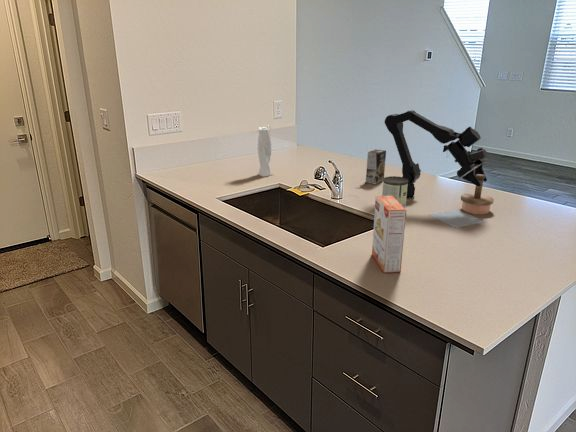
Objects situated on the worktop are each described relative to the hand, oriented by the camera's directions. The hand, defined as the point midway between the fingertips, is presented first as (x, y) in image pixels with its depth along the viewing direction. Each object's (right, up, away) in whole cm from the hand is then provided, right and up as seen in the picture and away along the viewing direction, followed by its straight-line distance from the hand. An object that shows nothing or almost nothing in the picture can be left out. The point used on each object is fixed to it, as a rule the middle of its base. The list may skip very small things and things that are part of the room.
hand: (483, 183), depth 189 cm
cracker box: (-50, -29, -43) cm, 72 cm away
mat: (-13, -15, -5) cm, 20 cm away
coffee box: (-36, +4, +47) cm, 60 cm away
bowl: (-1, -11, +5) cm, 12 cm away
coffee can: (-37, -12, +4) cm, 39 cm away
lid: (-1, -7, +4) cm, 8 cm away
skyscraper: (-94, +8, +58) cm, 111 cm away
